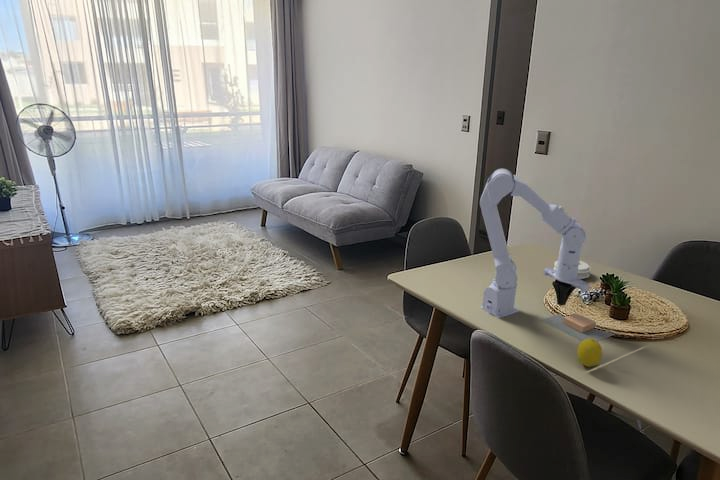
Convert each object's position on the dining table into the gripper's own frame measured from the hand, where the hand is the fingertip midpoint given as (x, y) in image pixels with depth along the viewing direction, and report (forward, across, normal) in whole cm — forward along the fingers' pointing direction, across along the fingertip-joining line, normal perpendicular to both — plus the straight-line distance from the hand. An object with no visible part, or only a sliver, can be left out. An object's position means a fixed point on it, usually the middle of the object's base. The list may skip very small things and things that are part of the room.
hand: (561, 304), depth 140 cm
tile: (+3, -3, 0) cm, 4 cm away
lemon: (+5, -21, +16) cm, 27 cm away
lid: (+5, +21, -33) cm, 39 cm away
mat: (+4, -7, +1) cm, 8 cm away
